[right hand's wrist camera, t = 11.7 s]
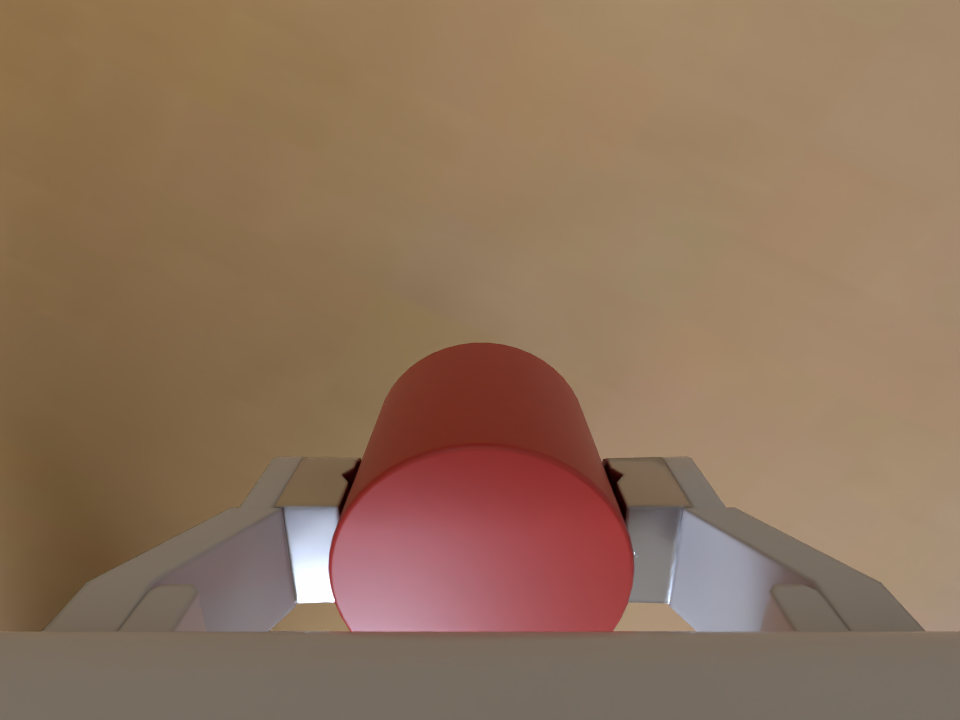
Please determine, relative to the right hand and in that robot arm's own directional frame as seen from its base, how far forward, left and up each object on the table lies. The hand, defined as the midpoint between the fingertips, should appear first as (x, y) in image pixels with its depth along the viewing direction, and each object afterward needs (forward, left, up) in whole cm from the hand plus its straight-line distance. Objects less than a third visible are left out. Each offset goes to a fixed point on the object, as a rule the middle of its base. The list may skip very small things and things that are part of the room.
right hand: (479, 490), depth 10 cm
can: (0, 0, -2) cm, 2 cm away
